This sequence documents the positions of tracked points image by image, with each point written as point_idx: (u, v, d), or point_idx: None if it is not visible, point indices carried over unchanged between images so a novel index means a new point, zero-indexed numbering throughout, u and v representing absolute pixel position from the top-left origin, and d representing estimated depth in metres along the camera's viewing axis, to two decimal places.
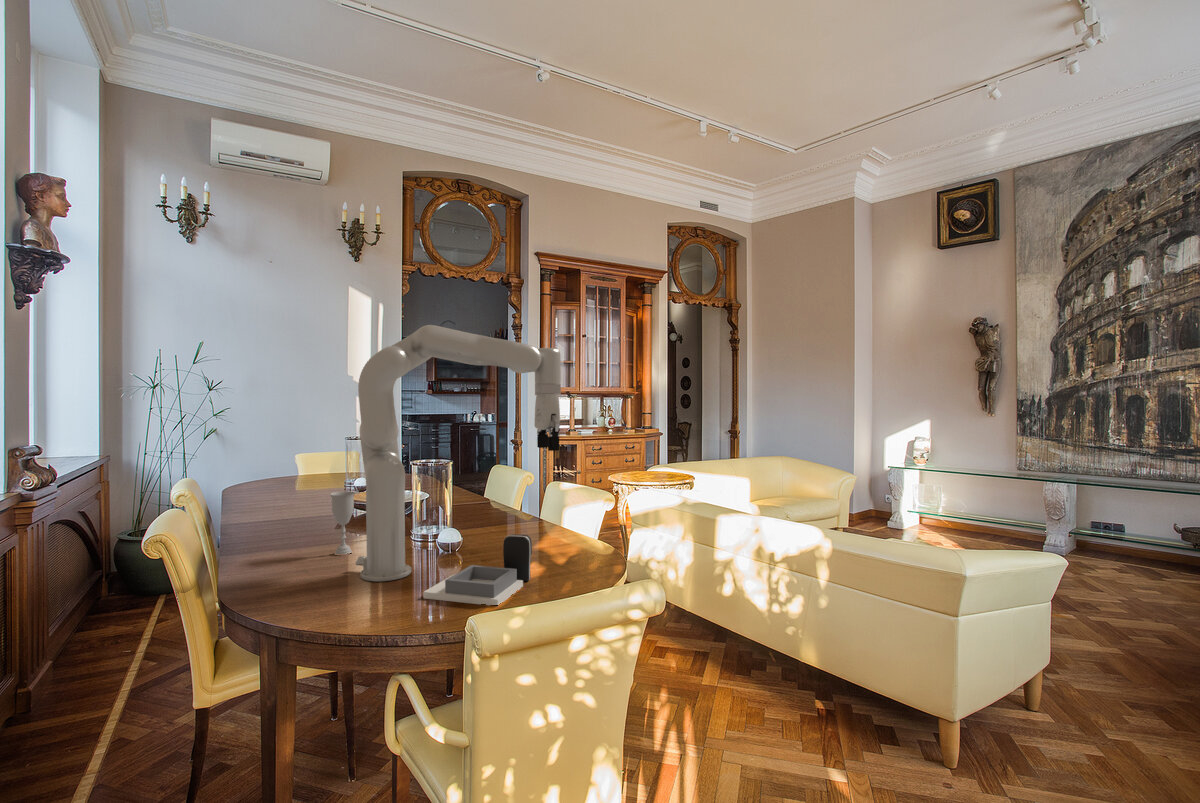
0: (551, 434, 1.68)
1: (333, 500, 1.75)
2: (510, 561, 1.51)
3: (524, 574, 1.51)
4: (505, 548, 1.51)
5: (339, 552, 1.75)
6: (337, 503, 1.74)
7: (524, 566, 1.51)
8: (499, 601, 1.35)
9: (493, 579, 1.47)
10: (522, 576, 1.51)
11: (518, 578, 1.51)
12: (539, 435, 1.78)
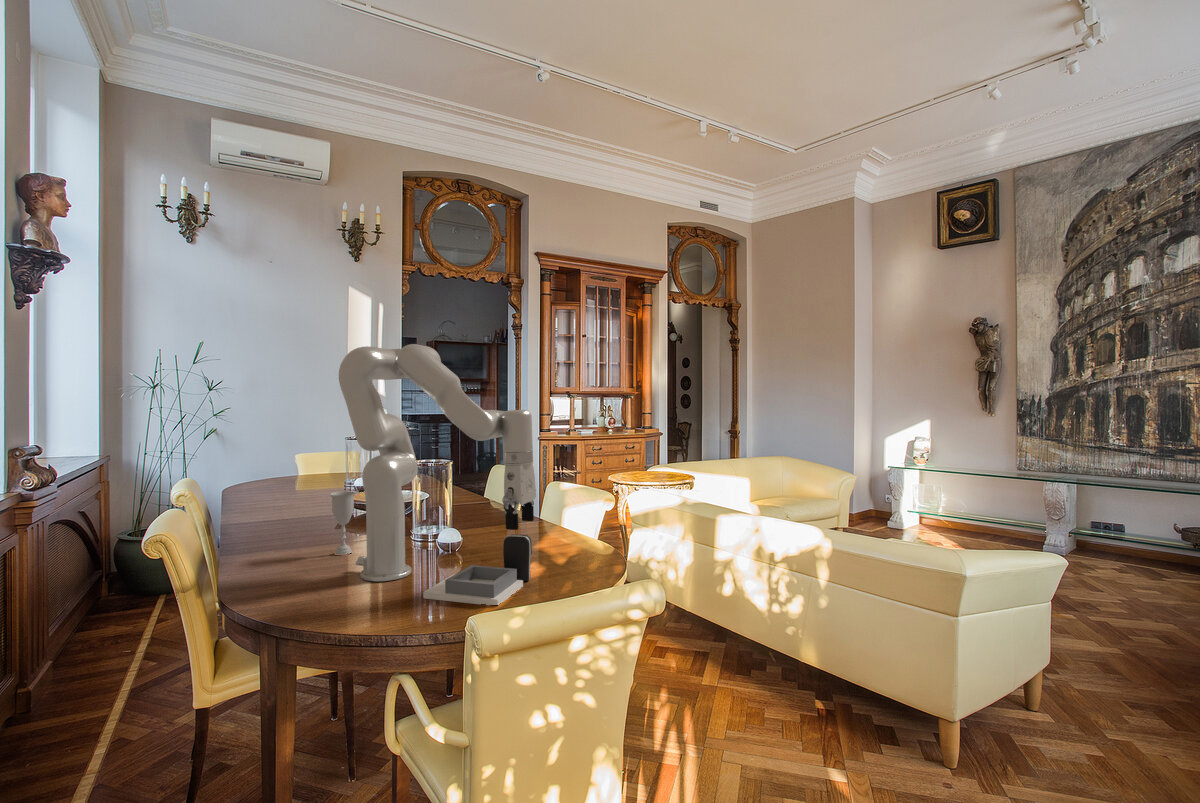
0: None
1: (333, 500, 1.75)
2: (510, 561, 1.51)
3: (524, 574, 1.51)
4: (505, 548, 1.51)
5: (339, 552, 1.75)
6: (337, 503, 1.74)
7: (524, 566, 1.51)
8: (499, 601, 1.35)
9: (493, 579, 1.47)
10: (522, 576, 1.51)
11: (518, 578, 1.51)
12: None
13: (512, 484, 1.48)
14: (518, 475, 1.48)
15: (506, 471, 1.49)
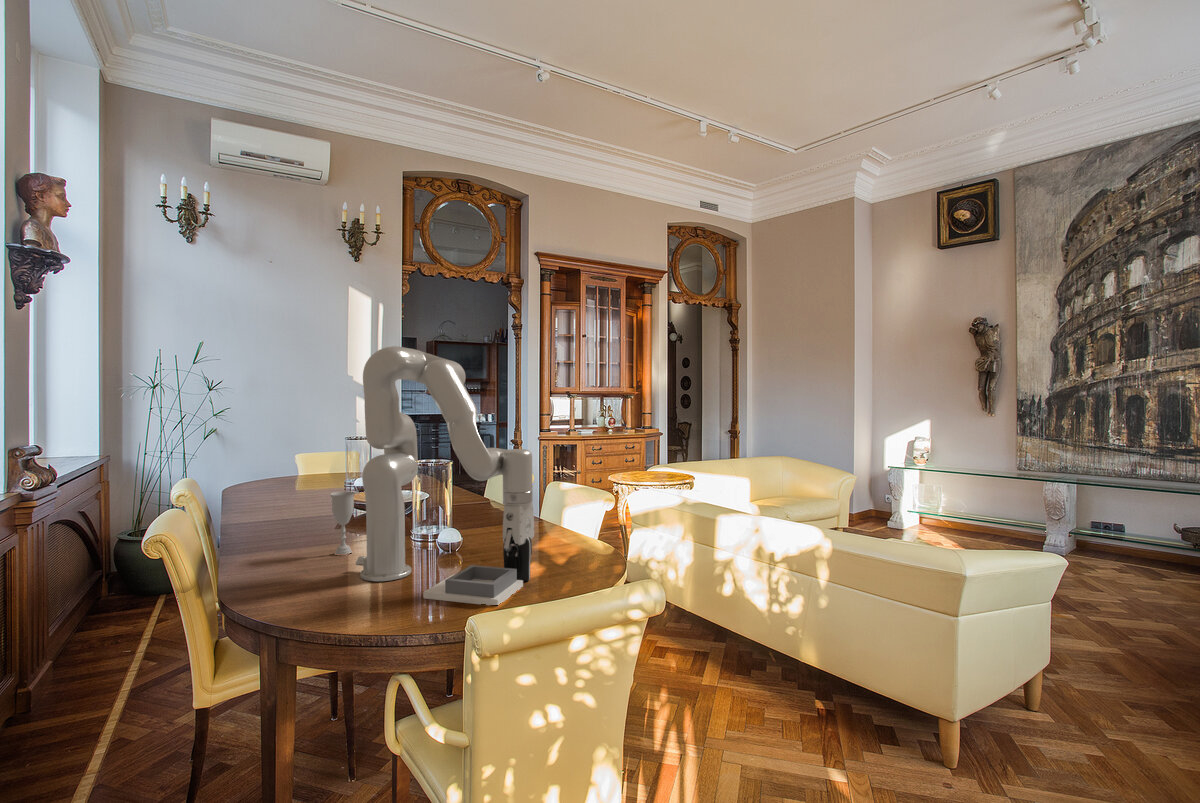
0: None
1: (333, 500, 1.75)
2: None
3: (524, 574, 1.51)
4: None
5: (339, 552, 1.75)
6: (337, 503, 1.74)
7: (524, 565, 1.51)
8: (499, 601, 1.35)
9: (493, 579, 1.47)
10: (522, 576, 1.51)
11: (518, 578, 1.51)
12: None
13: (511, 525, 1.48)
14: (517, 516, 1.48)
15: (505, 511, 1.49)
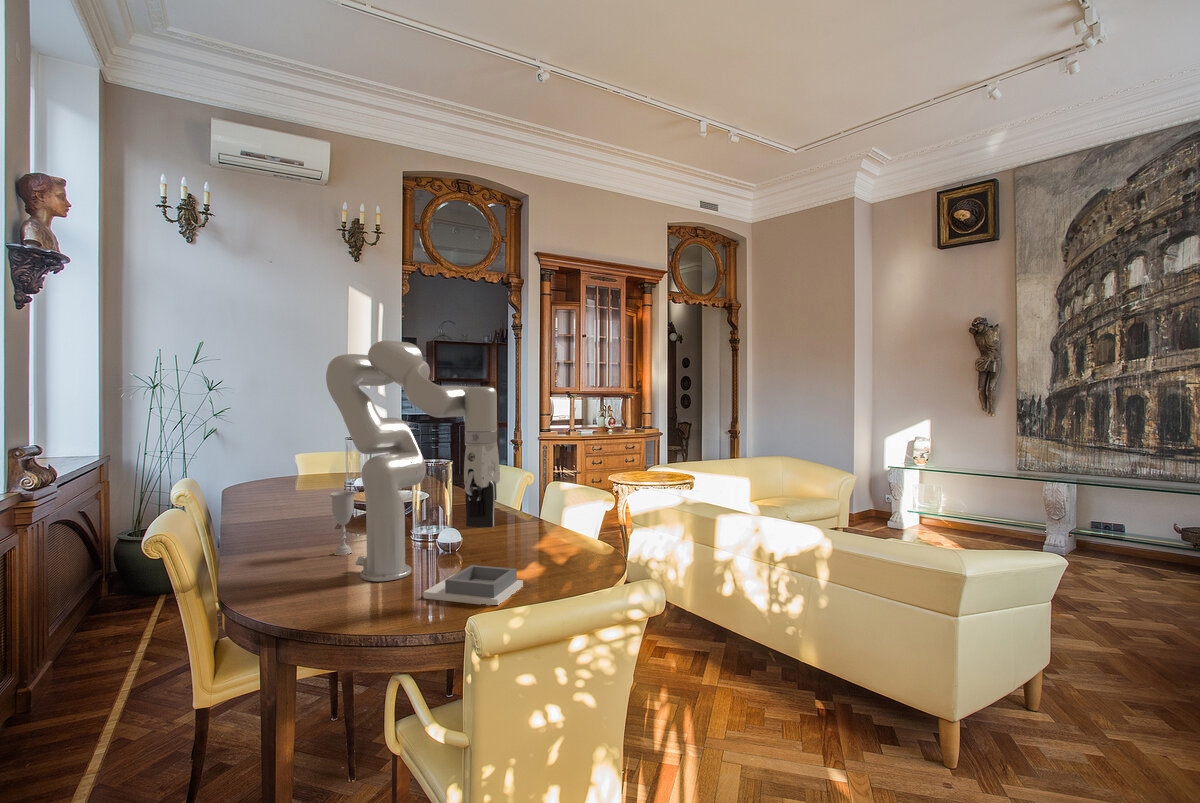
0: None
1: (333, 500, 1.75)
2: None
3: (487, 520, 1.40)
4: None
5: (339, 552, 1.75)
6: (337, 503, 1.74)
7: (487, 511, 1.40)
8: (499, 601, 1.35)
9: (493, 579, 1.47)
10: (485, 522, 1.40)
11: (481, 524, 1.40)
12: None
13: (472, 466, 1.37)
14: (479, 456, 1.37)
15: (467, 451, 1.38)
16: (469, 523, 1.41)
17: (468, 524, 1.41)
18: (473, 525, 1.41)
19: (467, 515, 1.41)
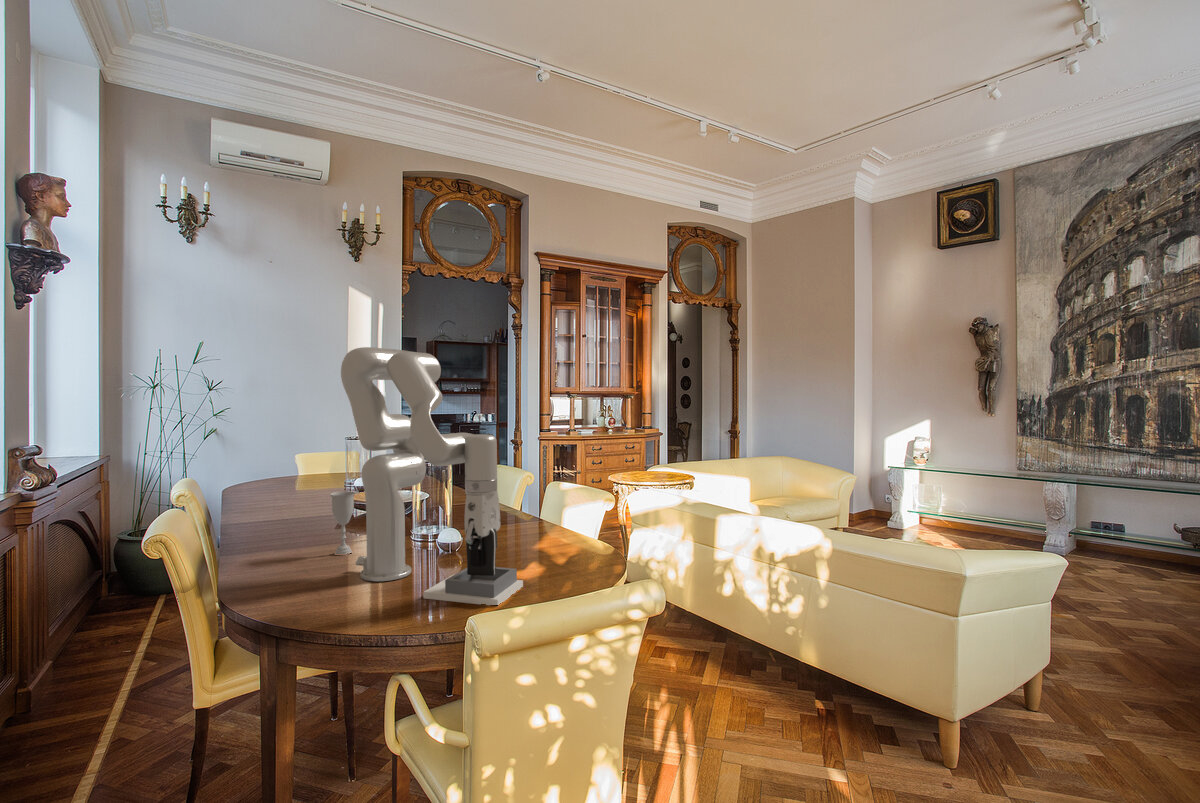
0: None
1: (333, 500, 1.75)
2: None
3: (488, 568, 1.40)
4: None
5: (339, 552, 1.75)
6: (337, 503, 1.74)
7: (488, 559, 1.40)
8: (499, 601, 1.35)
9: (493, 579, 1.47)
10: (486, 570, 1.40)
11: (482, 573, 1.40)
12: None
13: (473, 515, 1.37)
14: (480, 505, 1.37)
15: (467, 501, 1.38)
16: (470, 571, 1.41)
17: (469, 572, 1.41)
18: (474, 573, 1.41)
19: (468, 563, 1.41)
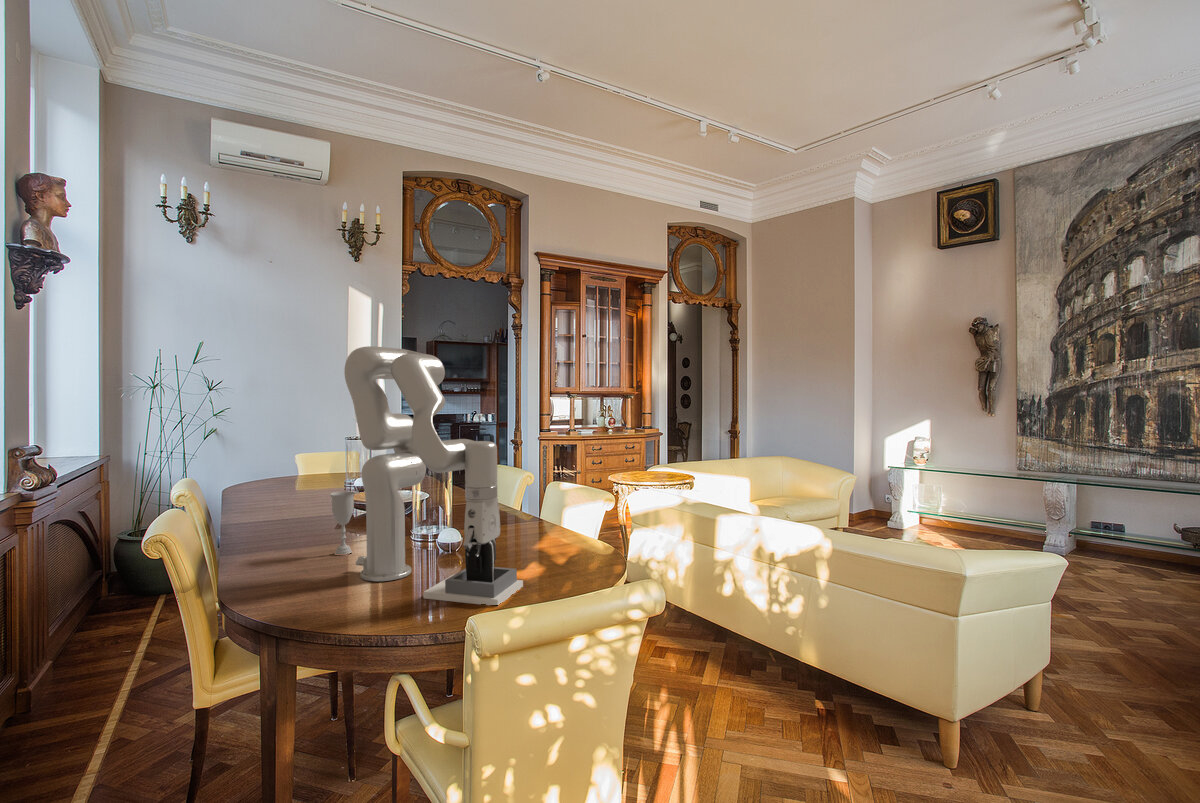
0: None
1: (333, 500, 1.75)
2: None
3: (487, 580, 1.40)
4: None
5: (339, 552, 1.75)
6: (337, 503, 1.74)
7: (486, 571, 1.40)
8: (499, 601, 1.35)
9: None
10: None
11: None
12: None
13: (473, 522, 1.37)
14: (480, 513, 1.37)
15: (467, 508, 1.38)
16: None
17: None
18: None
19: (467, 575, 1.42)
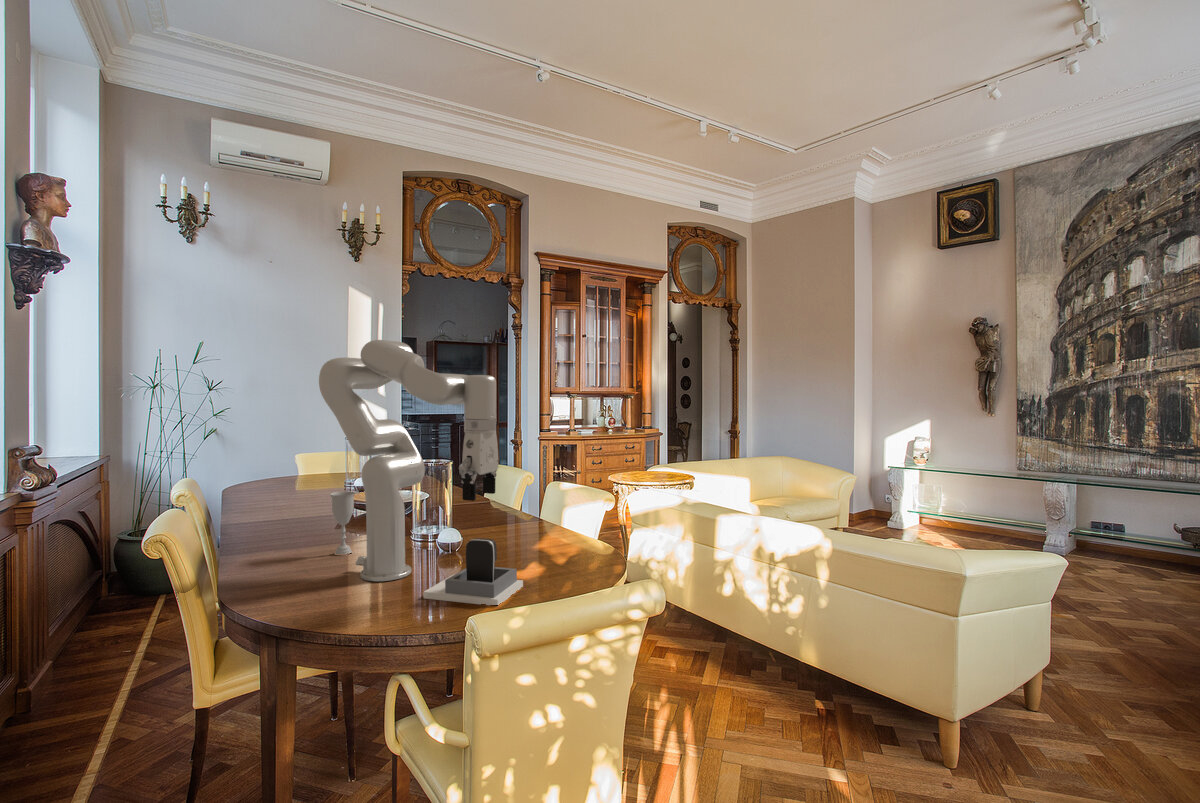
0: None
1: (333, 500, 1.75)
2: (473, 567, 1.41)
3: (487, 581, 1.40)
4: (467, 553, 1.41)
5: (339, 552, 1.75)
6: (337, 503, 1.74)
7: (487, 572, 1.40)
8: (499, 601, 1.35)
9: None
10: None
11: None
12: None
13: (471, 452, 1.39)
14: (477, 443, 1.39)
15: (465, 438, 1.40)
16: None
17: None
18: None
19: (467, 576, 1.42)
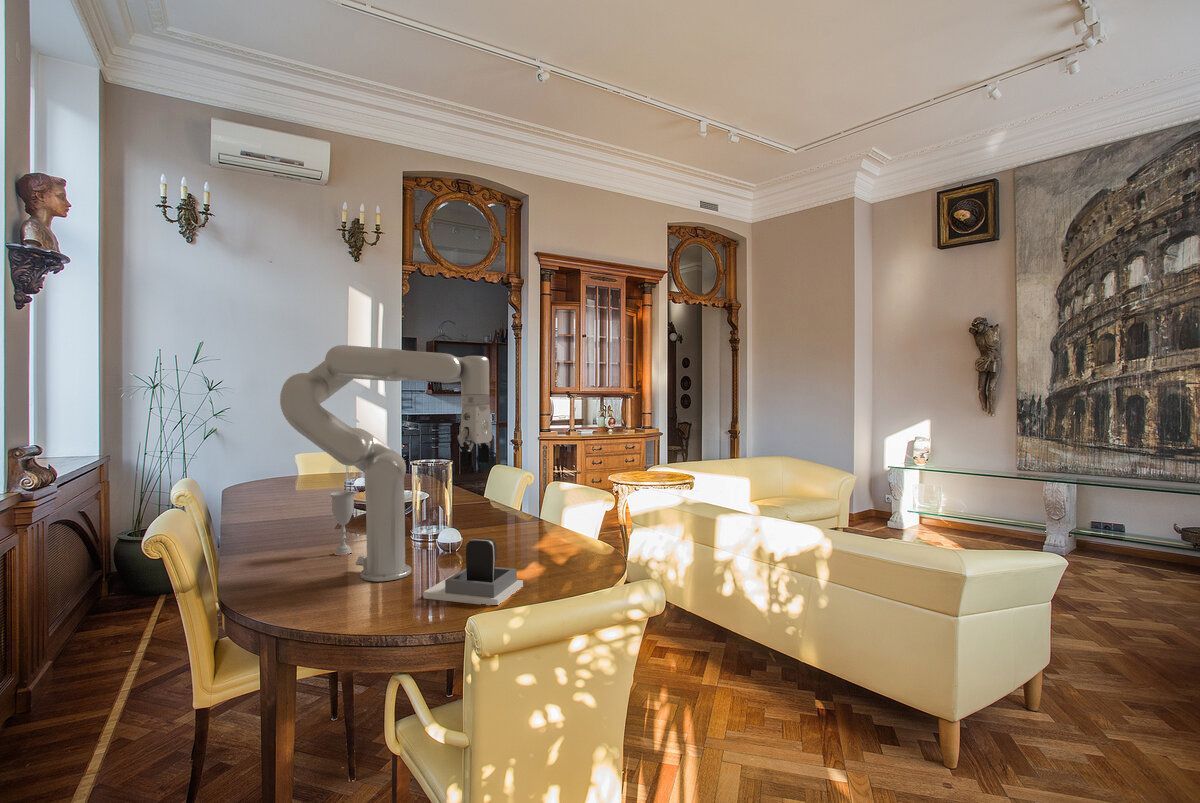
0: None
1: (333, 500, 1.75)
2: (473, 567, 1.41)
3: (487, 581, 1.40)
4: (467, 553, 1.41)
5: (339, 552, 1.75)
6: (337, 503, 1.74)
7: (487, 572, 1.40)
8: (499, 601, 1.35)
9: None
10: None
11: None
12: None
13: (468, 424, 1.57)
14: (474, 415, 1.57)
15: (463, 412, 1.58)
16: None
17: None
18: None
19: (467, 576, 1.42)
